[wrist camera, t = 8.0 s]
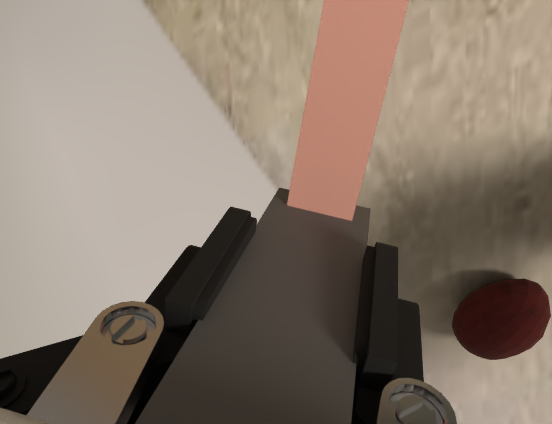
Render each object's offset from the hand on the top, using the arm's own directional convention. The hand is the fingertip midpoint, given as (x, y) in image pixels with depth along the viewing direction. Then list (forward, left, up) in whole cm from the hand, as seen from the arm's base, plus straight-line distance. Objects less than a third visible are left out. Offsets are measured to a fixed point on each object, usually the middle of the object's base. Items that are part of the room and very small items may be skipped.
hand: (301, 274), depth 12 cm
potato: (-19, -18, -29) cm, 39 cm away
